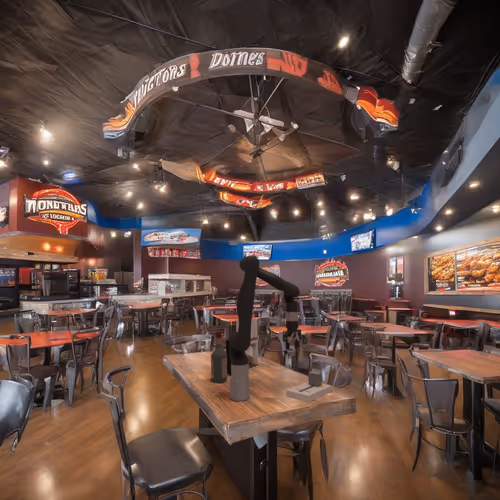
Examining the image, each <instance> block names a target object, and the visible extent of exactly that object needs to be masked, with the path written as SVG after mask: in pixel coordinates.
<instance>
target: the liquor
mask: <svg viewBox="0 0 500 500" xmlns="http://www.w3.org/2000/svg"><path fill="white" fill-rule="evenodd" d="M222 335H223V332H222V331H216V332H215V337H216V338H215V339H216V342H215V343H216V344H215V349H214V350H213V351H212V353H211V354H210V381H211V383H212V382H213V384H223V383H224V382H225V383H226V382H227V380H228V375H227V353H226V349H224V347H223V346H222ZM225 383H224V384H225Z"/></svg>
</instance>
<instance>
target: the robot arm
mask: <svg viewBox="0 0 500 500" xmlns="http://www.w3.org/2000/svg"><path fill="white" fill-rule="evenodd" d="M238 266H239V269H241V270H242V272H244V276H243V281H242V284H241V285H240V288H239V291H238V293H237V298H236V313H237V319H239V327H238V332H237V331H235V332H233V333H231V334H230V336H229V337H230V339H229V338H228V340H229V354H230V359H231V375H230V376H231V377H230V379H229V399H230V400H232V401H235V402H243V401H247V400H249V399H250V376H249V375H250V372H249V371H250V370H249V360H248V357H247V356H246V354H245V351H246V350H247V349H248V348H249V346H250V343H251V322H252V318H253V312H254V311H253V310H254V305H255V304H254V303H255V296H256V295H255V293H256V288H257V278H258V279H260V280H261V281H263V282H264V283H267V284H268V285H269V286H271V287H272V288H274V289H275V290H278V291H280V292H283V294H282V295H283V301H284V304H285V328H286V330H283V331H282V342H284V343H285V350H286V351H287V350H290V349H291V345H290V342H291V340H292V339H294V340H295V341H294V347H295V348H296V349H298V348H300V341H302V329H300V328H299V327H300V325H299V321H300V320H299V313H298V311H299V310H298V309H299V307H298V303H297V301H295V298H297V297H298V296H299V295H300V292H301V290H300V289H299V287H298V286H297V285H295V284H294V283H291V282H289V281H287V280H285V279H284V278H282V277H281V276H279V275H277V274H275V273H274V272H271V271H269V270H266V269H264V268H262V267H260V260H259V258H258V256H256V255H254V254H250V255H247V256H244V257H242V258H241V259H240V260H239V265H238Z"/></svg>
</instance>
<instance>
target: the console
mask: <svg viewBox="0 0 500 500" xmlns="http://www.w3.org/2000/svg"><path fill="white" fill-rule="evenodd" d="M332 392H333V389H332V385H331V384H325V383H322V385H320V386H315V385H310V384H309V381H306V382H304V383H301V384H299V385H296V386H292V387H290V388H288V389H286V391H285V394H286V397H288V398H293V399H295V400H299V401H302V402H303V401H304V402H305V403H310V402H313V401H315V400H316V399H319V398H321V397H323V396H325V395H328V394H330V393H332ZM312 400H313V401H312Z"/></svg>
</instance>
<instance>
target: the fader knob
mask: <svg viewBox="0 0 500 500" xmlns="http://www.w3.org/2000/svg"><path fill="white" fill-rule="evenodd" d="M307 375H308V377H307V379H308V382H309V384H310V385H315V386H320V385H322V384H323V379H322V378H323V375H322V372H317V371H309V372H308V373H307Z"/></svg>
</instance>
